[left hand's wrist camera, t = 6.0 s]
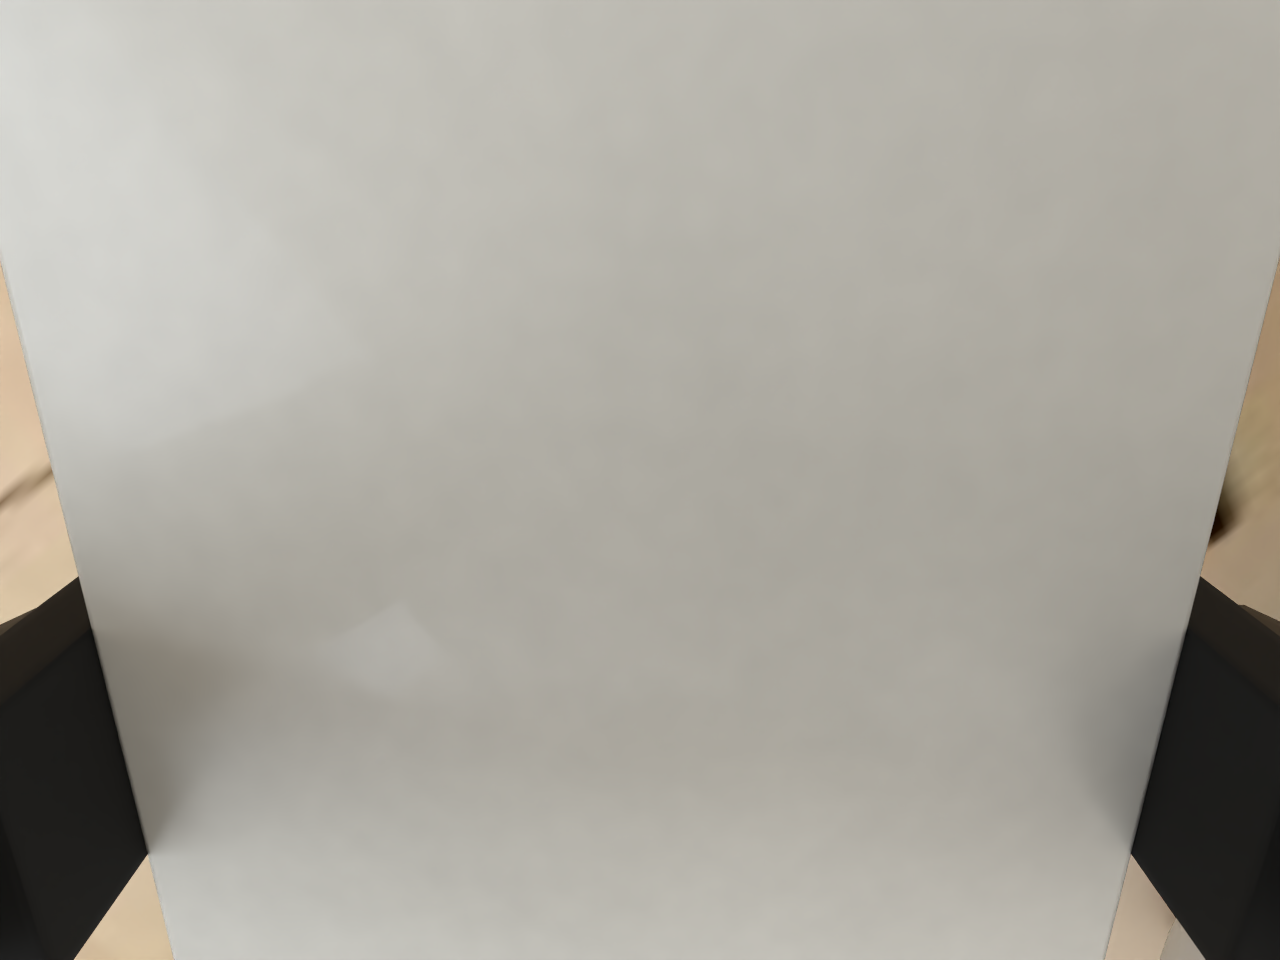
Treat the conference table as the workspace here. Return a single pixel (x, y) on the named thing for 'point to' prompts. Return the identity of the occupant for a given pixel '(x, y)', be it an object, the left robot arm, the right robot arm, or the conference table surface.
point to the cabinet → (639, 452)
